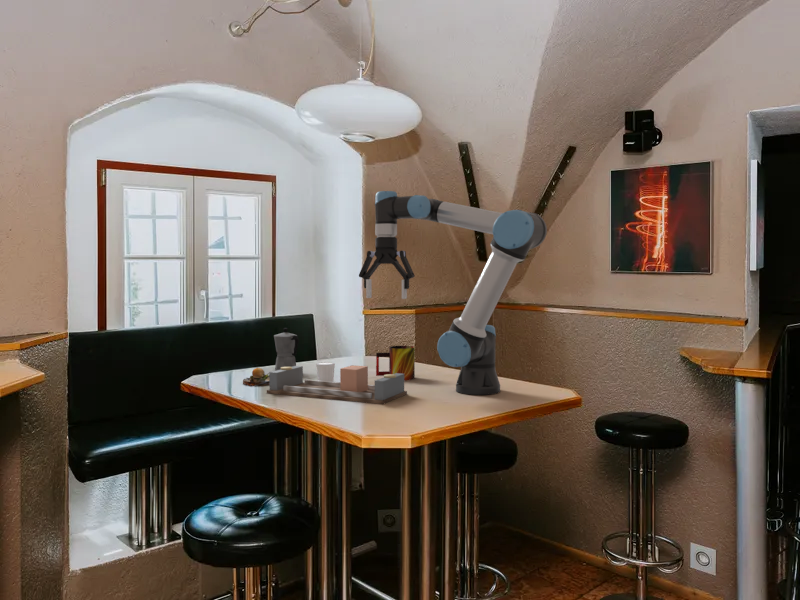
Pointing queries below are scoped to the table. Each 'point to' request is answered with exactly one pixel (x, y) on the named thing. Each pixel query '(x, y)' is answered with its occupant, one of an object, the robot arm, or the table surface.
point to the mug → (399, 361)
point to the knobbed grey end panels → (294, 376)
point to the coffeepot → (285, 349)
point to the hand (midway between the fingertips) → (386, 298)
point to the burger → (257, 378)
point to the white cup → (325, 371)
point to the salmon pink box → (354, 378)
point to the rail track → (332, 392)
